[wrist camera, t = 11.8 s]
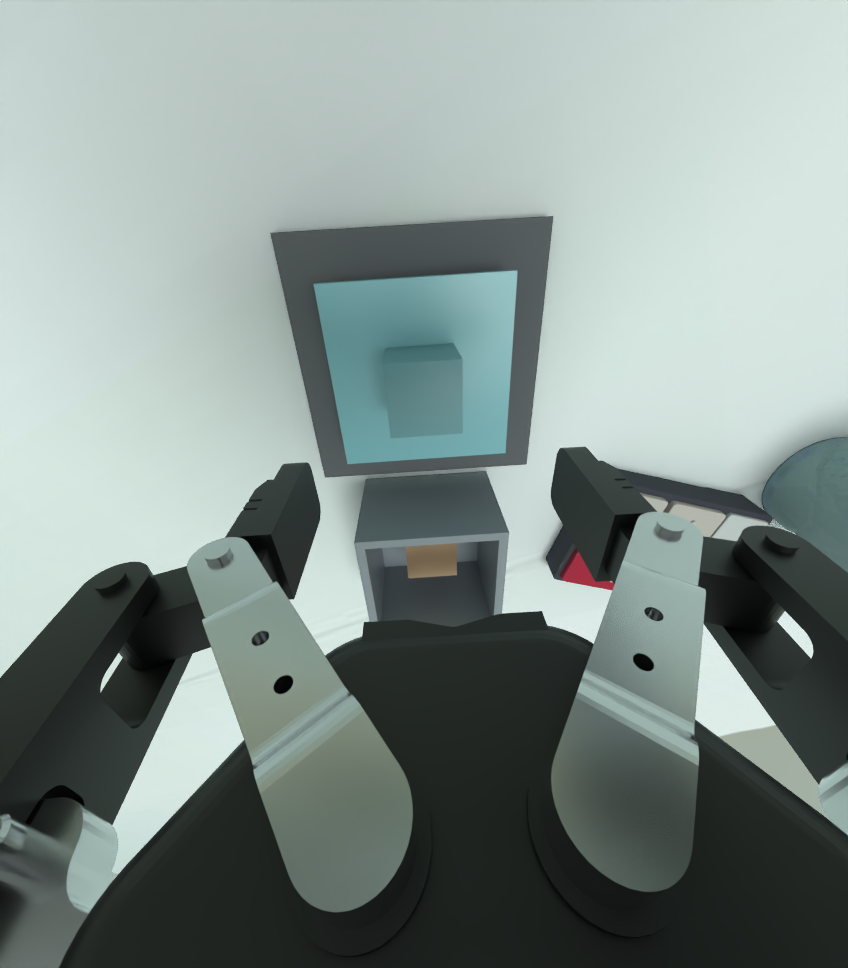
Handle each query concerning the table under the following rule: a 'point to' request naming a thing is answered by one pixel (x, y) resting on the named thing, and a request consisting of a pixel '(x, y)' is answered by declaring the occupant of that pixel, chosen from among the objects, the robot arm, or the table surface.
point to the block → (431, 560)
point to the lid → (420, 363)
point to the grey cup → (814, 497)
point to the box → (429, 521)
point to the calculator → (697, 505)
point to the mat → (409, 256)
